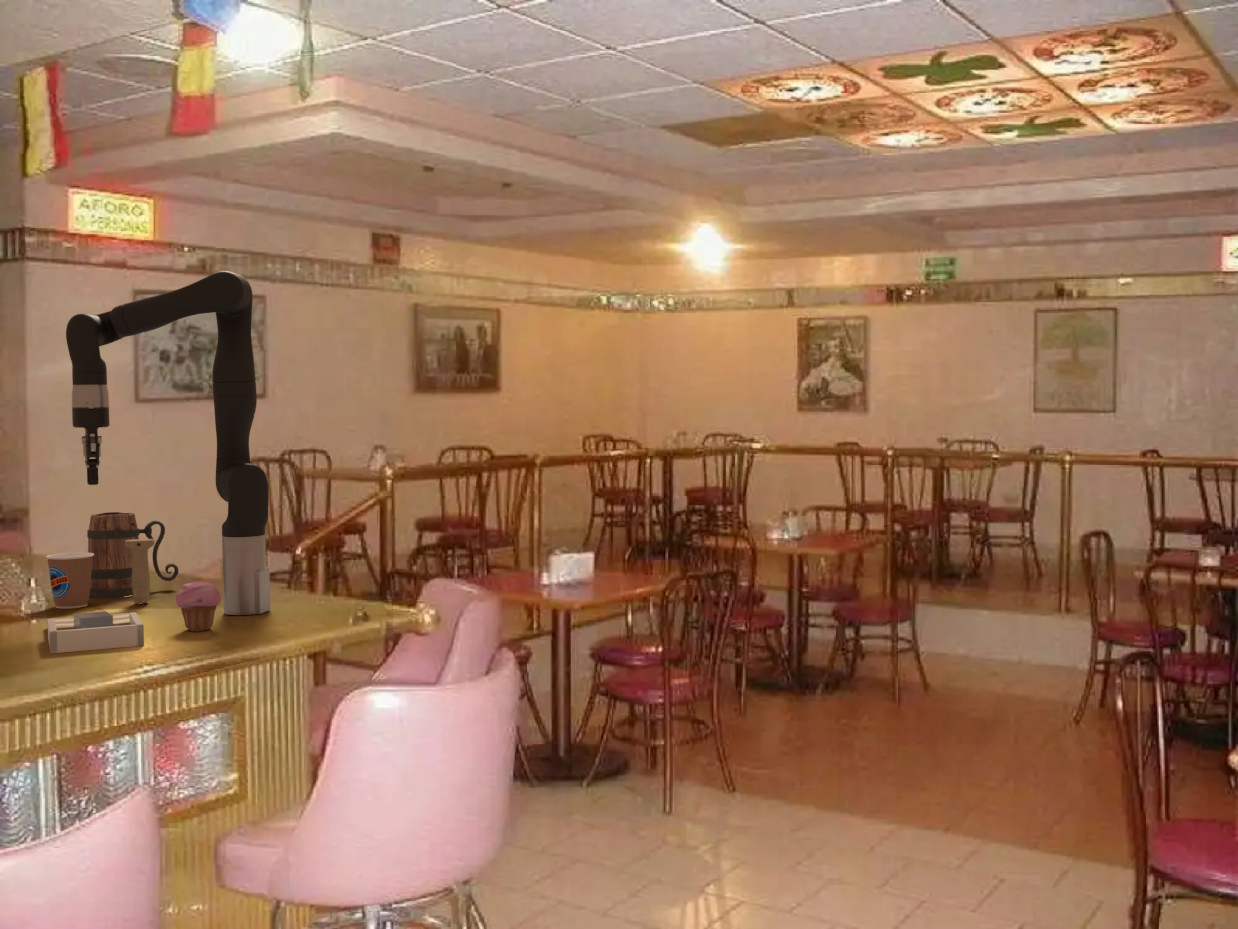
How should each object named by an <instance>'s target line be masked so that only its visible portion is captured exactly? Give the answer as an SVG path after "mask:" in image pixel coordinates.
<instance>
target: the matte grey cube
mask: <svg viewBox="0 0 1238 929" xmlns="http://www.w3.org/2000/svg"><path fill="white" fill-rule="evenodd" d="M111 614H112V613H109V612H108V611H106V610H103V611H93V612H92V611H91V612H82V613H81V612H80V613H73V617H74V629H84V628H97V627H109V626H113V615H111Z"/></svg>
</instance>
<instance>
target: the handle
mask: <svg viewBox="0 0 1238 929" xmlns="http://www.w3.org/2000/svg"><path fill="white" fill-rule="evenodd" d="M154 545H155V539H154V538H153V539H148V538H139V539H133V540H125V546H126V547H128V548H130V549H131V550H132V590H133V596H134V597H133V602H134V605H136V604H137V605H139V604H140V603H147V602H148V601H149V602H150V597H149V596H150V594H151V593H150V591H151V579H150V578H151V576H150V566H149V554H148V553H149V549H150V548H152V547H154ZM149 602H148V603H149Z"/></svg>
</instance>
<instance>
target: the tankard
mask: <svg viewBox="0 0 1238 929" xmlns="http://www.w3.org/2000/svg"><path fill="white" fill-rule="evenodd" d="M155 525H158V526H159V527H160V532H159V534H158V537H157V539H156V541H155V542H154V545H153V548H152V549H153V550H152V565H153V567H154V572H155V573H156V574H157V576H158V577H159V578H160V579H161V580H163V581H165V582H171V581H174V580H175V579H176V578H177V576H178V575H179V567H178V566H177V565H176V564H175V563H168V564H166V565H165V568H164V570H165V572H166V573H167V574H168V575H171V576H168V577H167V576H164V575H163V574H162V573H161V570H160V567H159V564H158V550H159V547H160V545H161V544H162V541H163V539H164V537H165V533H166V527H165V524H164V523H162V522H161V521H160V520H152V521H150V522H148V523H147V524H146V525H145V526H144V528H139V527H138V523H137V518H136V515H135V513H133V512H121V511H120V512H116V511H114V512H112V511H110V512H102V513H98V514H97V513H96V514H90V519H89V526H88V529H87V531H86V532H87V533H86V534H87V535H86V536H87V538H88V540H87V541H88V542H87V544H88V545H87V553H93V554H94V556H92V558H93V561H92V572H91V582H90V593H89V600H110V599H111V600H112V599H121V598H120V597H124V596H129V595H133V590H132V550H131V549H130V548H128V547H126V546H125V540H133V539H140V537H139V536H140V534H145V536H146V539H154V536H152V533H153V530H152V529H153V528H152V527H153V526H155ZM170 568H174V571H173V574H172V571H169V569H170Z"/></svg>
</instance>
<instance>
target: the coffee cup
mask: <svg viewBox="0 0 1238 929" xmlns="http://www.w3.org/2000/svg"><path fill="white" fill-rule="evenodd" d="M92 556H94V554H93V553H88V552H64V553H61V552H60V553H54V554H48V555H46V556H45V558H46V559H47V565H48V571H49V579H50V580H49V581H50V587H51V595H52V596H53V602H54V606H55V608H56V609H61V610H62V609H65V610H66V609H69V610H70V609H79V608H85V607H87V606H88V604H89V600H90V599H89V593H90V582H91V572H92V561H93V558H92Z"/></svg>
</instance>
